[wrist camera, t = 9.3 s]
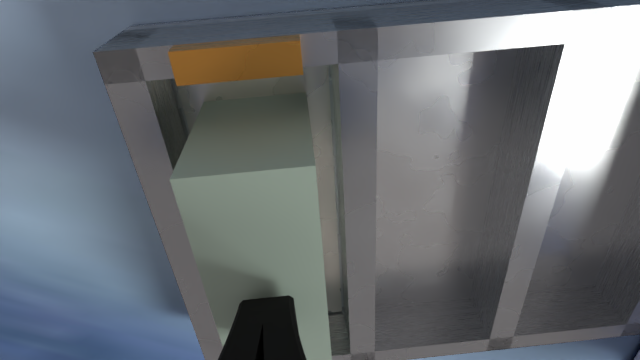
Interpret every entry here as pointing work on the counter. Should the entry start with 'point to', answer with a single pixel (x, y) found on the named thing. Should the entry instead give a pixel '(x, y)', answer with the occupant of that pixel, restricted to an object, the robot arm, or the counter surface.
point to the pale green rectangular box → (255, 210)
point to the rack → (424, 161)
